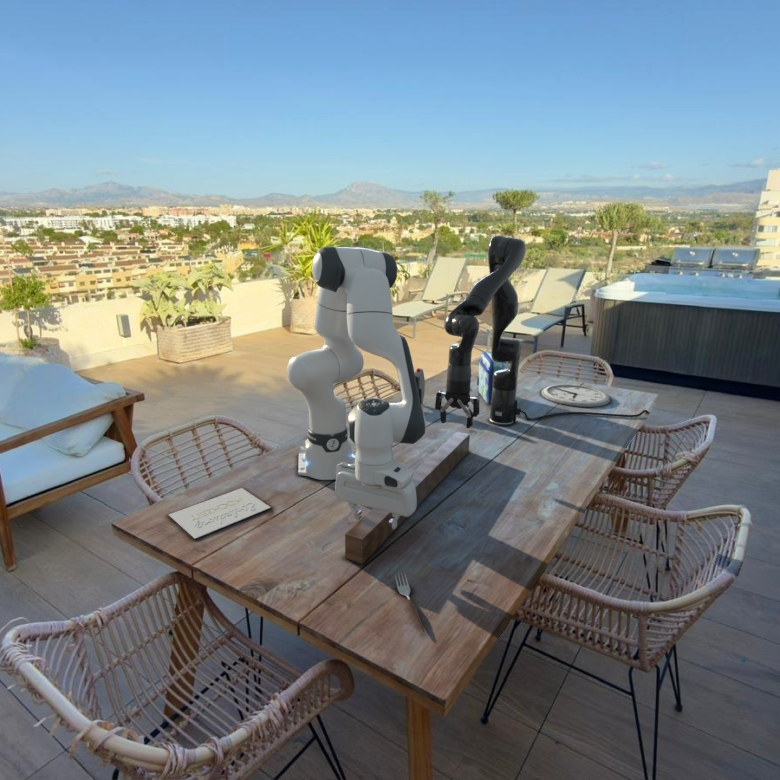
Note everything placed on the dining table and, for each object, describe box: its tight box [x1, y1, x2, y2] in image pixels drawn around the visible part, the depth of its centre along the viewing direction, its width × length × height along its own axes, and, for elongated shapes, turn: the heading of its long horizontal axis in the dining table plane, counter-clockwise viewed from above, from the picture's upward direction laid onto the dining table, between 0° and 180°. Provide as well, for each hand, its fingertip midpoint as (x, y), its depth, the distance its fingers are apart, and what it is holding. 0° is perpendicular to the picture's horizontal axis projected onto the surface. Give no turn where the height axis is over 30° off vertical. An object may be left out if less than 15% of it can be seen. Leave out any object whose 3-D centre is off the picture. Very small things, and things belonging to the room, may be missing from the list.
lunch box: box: [476, 351, 510, 406], centre depth 230 cm, size 26×11×21 cm, turn 179°
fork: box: [394, 572, 425, 632], centre depth 105 cm, size 3×16×2 cm, turn 15°
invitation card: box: [168, 487, 271, 540], centre depth 138 cm, size 21×1×15 cm
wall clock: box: [541, 384, 611, 408], centre depth 239 cm, size 30×2×30 cm
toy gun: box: [399, 367, 426, 405], centre depth 218 cm, size 2×16×15 cm
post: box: [344, 431, 471, 565], centre depth 148 cm, size 72×5×6 cm, turn 152°
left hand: (374, 522), depth 124 cm, fingers open, 8 cm apart
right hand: (455, 425), depth 169 cm, fingers open, 8 cm apart
